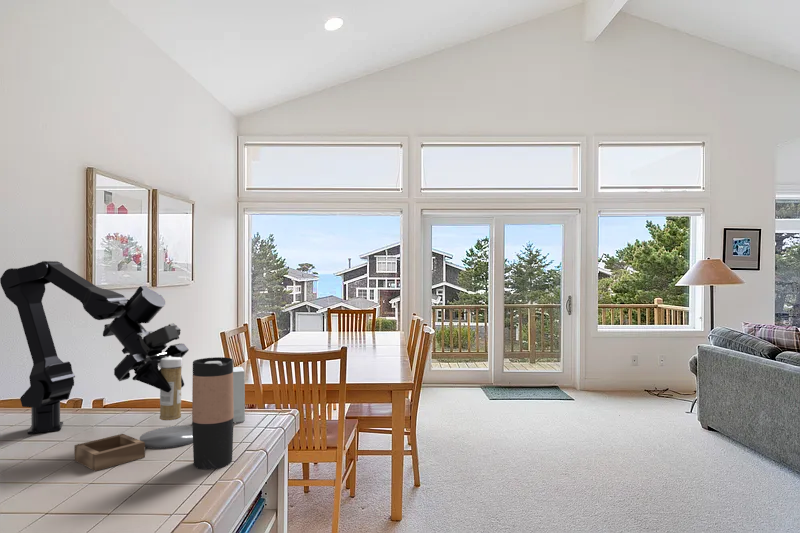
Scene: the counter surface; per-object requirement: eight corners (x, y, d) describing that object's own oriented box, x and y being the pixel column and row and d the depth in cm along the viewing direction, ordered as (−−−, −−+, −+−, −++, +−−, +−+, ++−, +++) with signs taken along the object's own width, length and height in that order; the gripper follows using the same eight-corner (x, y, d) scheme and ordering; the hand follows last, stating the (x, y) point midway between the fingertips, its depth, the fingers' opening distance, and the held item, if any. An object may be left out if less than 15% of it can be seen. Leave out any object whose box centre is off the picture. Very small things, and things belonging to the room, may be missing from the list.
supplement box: (245, 422, 133) (245, 371, 133) (213, 425, 130) (213, 373, 130) (243, 414, 140) (242, 366, 140) (212, 417, 137) (212, 368, 137)
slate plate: (138, 435, 122) (138, 430, 122) (199, 427, 128) (199, 423, 128) (140, 452, 111) (140, 447, 111) (206, 442, 117) (206, 438, 117)
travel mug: (198, 456, 108) (198, 357, 108) (237, 455, 109) (237, 356, 109) (186, 470, 100) (186, 364, 101) (228, 469, 101) (228, 363, 101)
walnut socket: (74, 460, 106) (74, 445, 106) (122, 447, 114) (122, 433, 114) (95, 471, 100) (95, 455, 100) (144, 457, 108) (144, 442, 108)
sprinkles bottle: (185, 417, 120) (187, 357, 121) (167, 422, 116) (169, 359, 117) (172, 414, 123) (174, 355, 123) (154, 419, 119) (156, 358, 119)
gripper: (126, 316, 112) (172, 372, 109) (181, 309, 130) (222, 357, 127) (94, 352, 113) (138, 408, 111) (153, 341, 131) (192, 388, 129)
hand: (176, 388), depth 119 cm, fingers closed on sprinkles bottle, 4 cm apart
